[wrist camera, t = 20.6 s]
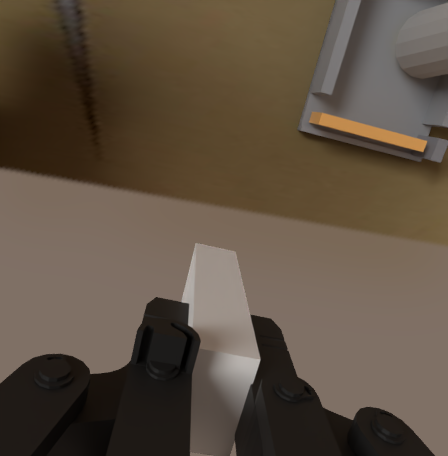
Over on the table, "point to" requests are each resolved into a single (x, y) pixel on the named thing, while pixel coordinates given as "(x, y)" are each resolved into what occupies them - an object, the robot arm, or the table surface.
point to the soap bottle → (424, 43)
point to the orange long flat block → (367, 131)
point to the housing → (375, 79)
